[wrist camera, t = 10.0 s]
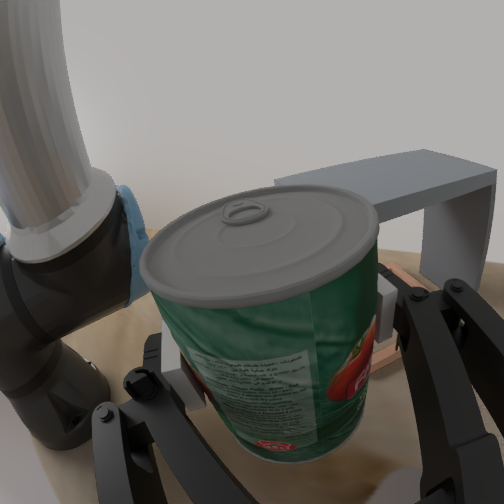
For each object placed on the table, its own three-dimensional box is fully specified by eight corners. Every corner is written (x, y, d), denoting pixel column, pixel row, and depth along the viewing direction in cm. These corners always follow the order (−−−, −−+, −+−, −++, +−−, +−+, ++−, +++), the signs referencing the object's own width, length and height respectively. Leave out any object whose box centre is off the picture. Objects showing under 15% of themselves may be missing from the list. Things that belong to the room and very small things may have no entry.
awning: (339, 386, 25) (334, 216, 17) (298, 319, 36) (273, 179, 27) (472, 306, 28) (496, 169, 19) (420, 267, 39) (423, 149, 30)
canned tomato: (390, 424, 11) (437, 228, 6) (245, 484, 10) (120, 339, 5) (328, 336, 18) (310, 173, 13) (217, 376, 17) (149, 220, 12)
